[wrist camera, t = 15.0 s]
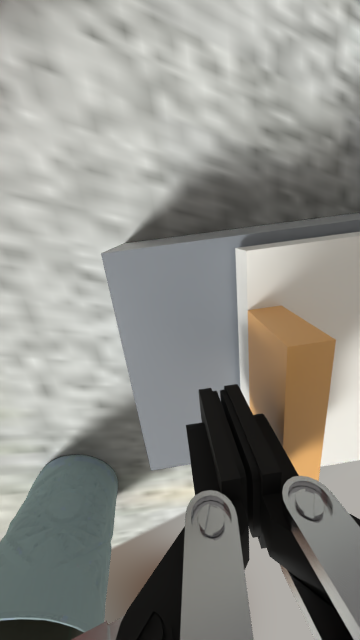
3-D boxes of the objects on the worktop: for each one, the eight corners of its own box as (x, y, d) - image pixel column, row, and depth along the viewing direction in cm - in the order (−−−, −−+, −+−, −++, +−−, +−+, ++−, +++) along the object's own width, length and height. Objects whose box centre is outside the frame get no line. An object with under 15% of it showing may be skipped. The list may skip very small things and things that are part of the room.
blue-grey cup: (72, 523, 29) (18, 707, 18) (7, 475, 26) (-109, 666, 15) (142, 486, 28) (131, 658, 17) (84, 431, 24) (21, 602, 13)
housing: (401, 207, 19) (555, 193, 12) (372, 360, 24) (467, 419, 17) (124, 243, 18) (101, 253, 11) (153, 393, 24) (151, 470, 16)
